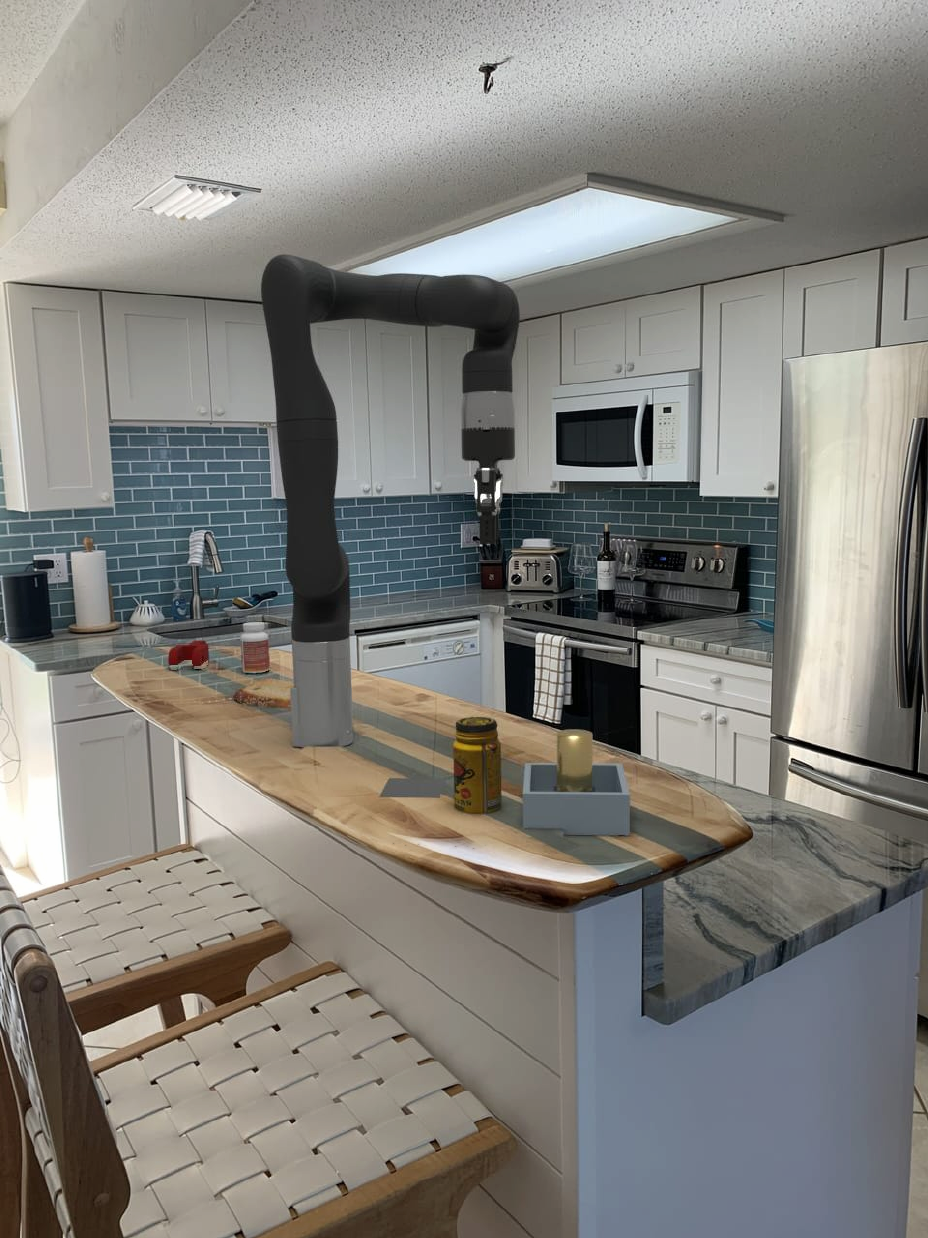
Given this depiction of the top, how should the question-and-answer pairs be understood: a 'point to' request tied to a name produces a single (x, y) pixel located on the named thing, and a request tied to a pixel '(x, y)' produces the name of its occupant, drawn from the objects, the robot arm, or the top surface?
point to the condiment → (477, 766)
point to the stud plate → (413, 787)
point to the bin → (577, 802)
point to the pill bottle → (254, 648)
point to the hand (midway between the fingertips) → (489, 541)
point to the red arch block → (189, 653)
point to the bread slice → (266, 693)
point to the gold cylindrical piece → (574, 761)
